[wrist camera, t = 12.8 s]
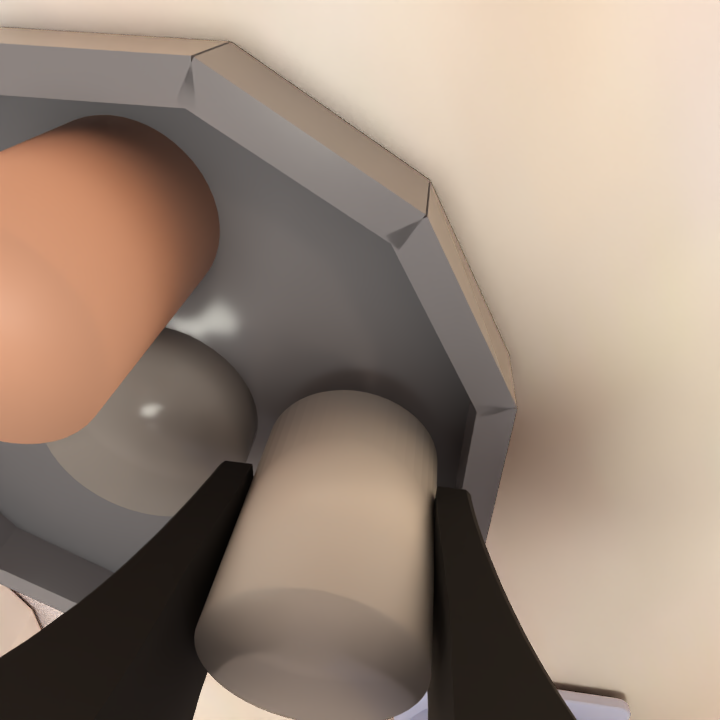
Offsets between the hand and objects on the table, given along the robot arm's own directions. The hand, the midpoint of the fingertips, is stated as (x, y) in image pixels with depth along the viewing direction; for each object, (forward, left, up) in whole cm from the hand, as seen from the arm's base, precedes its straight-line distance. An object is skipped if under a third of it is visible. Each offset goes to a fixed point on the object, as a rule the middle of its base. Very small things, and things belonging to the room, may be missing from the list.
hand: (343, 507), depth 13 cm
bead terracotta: (+5, +5, -3) cm, 8 cm away
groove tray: (0, +5, -3) cm, 6 cm away
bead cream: (0, 0, -2) cm, 2 cm away
